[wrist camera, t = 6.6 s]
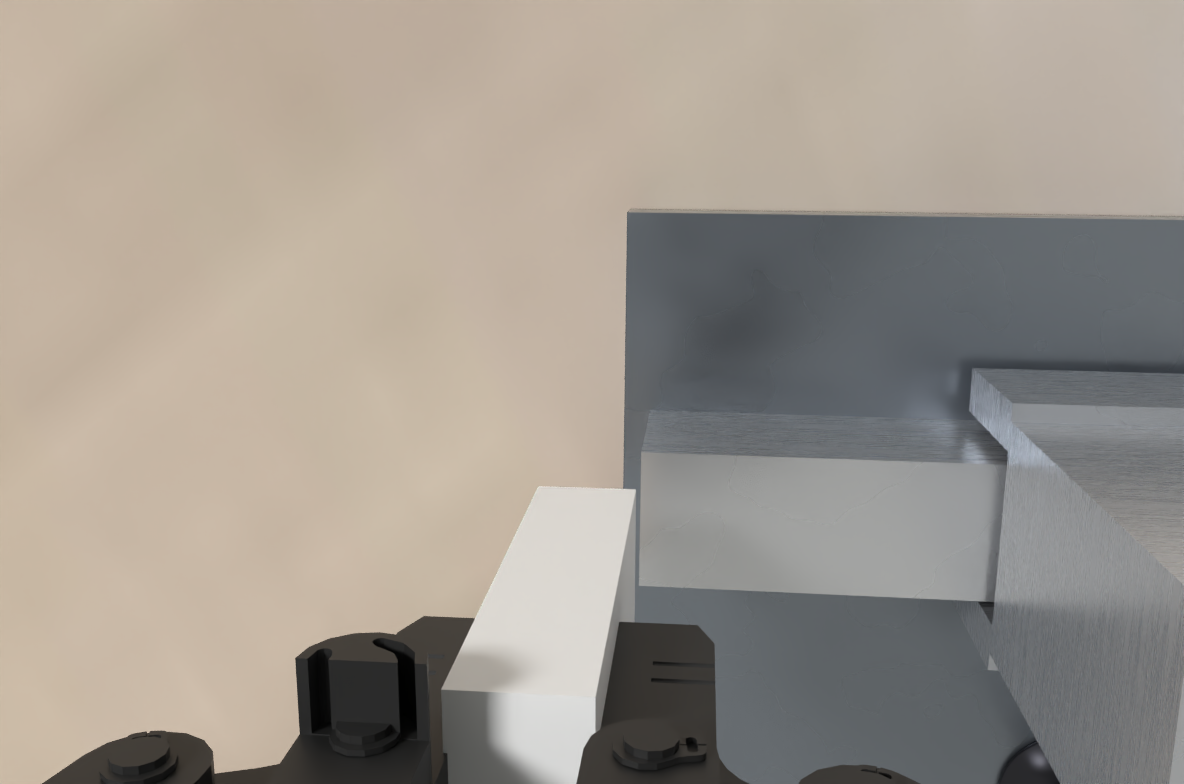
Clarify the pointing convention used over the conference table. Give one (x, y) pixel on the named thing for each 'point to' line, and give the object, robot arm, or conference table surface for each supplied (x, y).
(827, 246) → the flange plate
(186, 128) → the conference table surface
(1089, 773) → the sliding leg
